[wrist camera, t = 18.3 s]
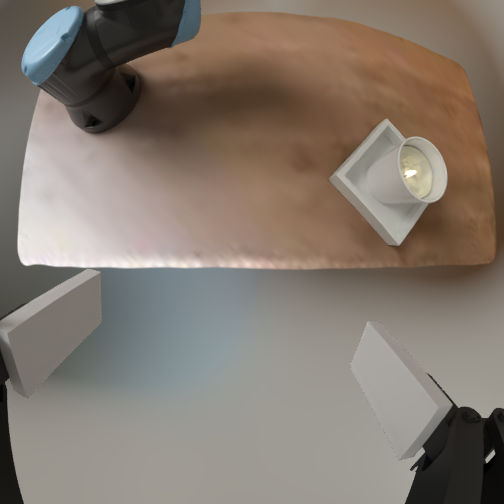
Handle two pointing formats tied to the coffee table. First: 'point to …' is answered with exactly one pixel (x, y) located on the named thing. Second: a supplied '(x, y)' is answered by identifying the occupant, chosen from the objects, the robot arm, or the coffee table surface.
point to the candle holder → (408, 174)
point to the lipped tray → (357, 192)
